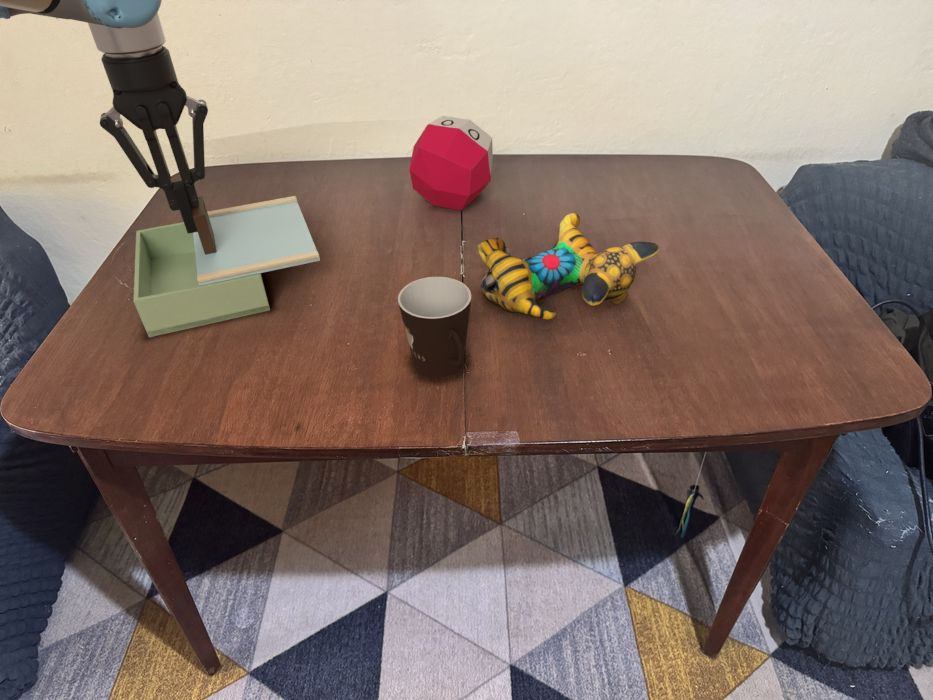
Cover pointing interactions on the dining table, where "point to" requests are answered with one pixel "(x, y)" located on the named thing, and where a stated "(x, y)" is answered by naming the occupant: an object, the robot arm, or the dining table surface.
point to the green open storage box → (185, 285)
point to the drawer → (250, 239)
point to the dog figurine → (560, 271)
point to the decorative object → (451, 162)
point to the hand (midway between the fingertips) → (192, 228)
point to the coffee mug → (436, 324)
